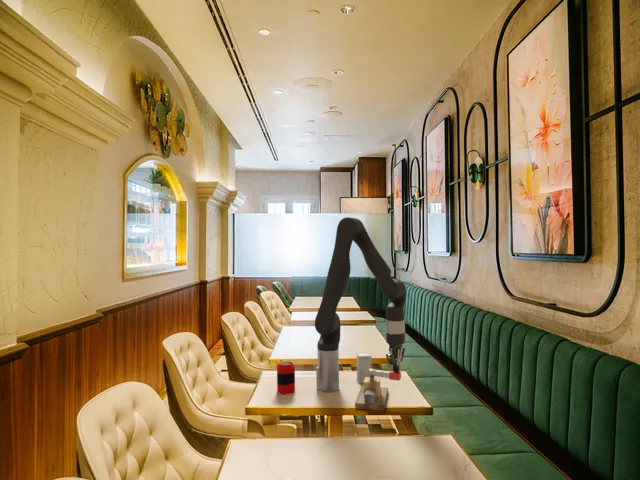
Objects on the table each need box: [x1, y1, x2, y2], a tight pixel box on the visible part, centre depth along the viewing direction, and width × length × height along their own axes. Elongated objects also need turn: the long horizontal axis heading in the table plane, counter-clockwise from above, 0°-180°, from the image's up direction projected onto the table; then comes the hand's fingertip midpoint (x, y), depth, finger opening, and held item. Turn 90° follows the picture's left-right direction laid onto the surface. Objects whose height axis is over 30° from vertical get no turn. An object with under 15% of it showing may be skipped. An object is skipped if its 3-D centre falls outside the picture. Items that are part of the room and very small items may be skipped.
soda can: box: [276, 361, 296, 395], centre depth 177 cm, size 8×8×12 cm
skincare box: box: [356, 353, 372, 384], centre depth 188 cm, size 6×4×12 cm
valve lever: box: [368, 367, 402, 381], centre depth 165 cm, size 13×3×3 cm, turn 65°
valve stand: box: [354, 377, 389, 411], centre depth 167 cm, size 11×19×10 cm, turn 166°
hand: (396, 374), depth 166 cm, fingers closed
